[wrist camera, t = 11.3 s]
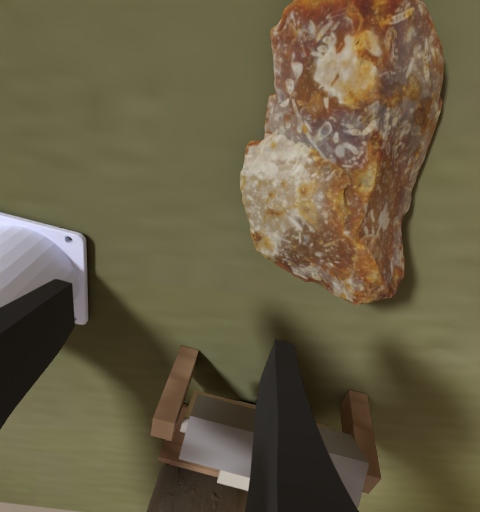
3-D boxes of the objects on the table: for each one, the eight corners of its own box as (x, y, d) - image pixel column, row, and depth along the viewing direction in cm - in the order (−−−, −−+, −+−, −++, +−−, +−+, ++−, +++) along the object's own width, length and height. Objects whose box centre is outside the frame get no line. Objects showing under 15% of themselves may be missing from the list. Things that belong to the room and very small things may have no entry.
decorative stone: (243, 318, 19) (199, -30, 13) (255, 278, 23) (225, -5, 17) (442, 320, 17) (497, -88, 11) (419, 276, 21) (450, -45, 15)
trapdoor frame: (164, 442, 36) (140, 514, 31) (180, 345, 28) (153, 417, 23) (310, 482, 36) (311, 560, 30) (367, 394, 28) (381, 478, 23)
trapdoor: (200, 365, 30) (191, 400, 30) (181, 413, 20) (167, 464, 20) (334, 400, 30) (325, 435, 30) (378, 465, 20) (365, 517, 20)
